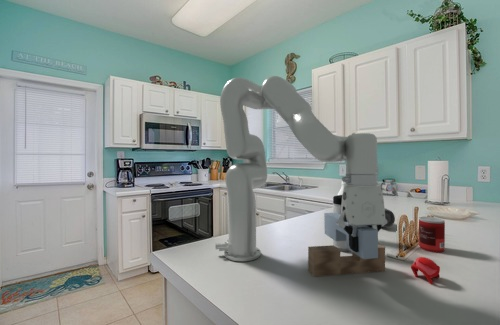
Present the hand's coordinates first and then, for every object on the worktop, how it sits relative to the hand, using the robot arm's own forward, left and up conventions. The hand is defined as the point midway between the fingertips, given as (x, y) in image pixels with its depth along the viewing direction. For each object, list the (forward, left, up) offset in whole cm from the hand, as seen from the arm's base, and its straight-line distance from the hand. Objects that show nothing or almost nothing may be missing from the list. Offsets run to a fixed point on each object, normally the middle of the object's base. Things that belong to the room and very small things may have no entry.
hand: (362, 249), depth 66 cm
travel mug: (+8, +25, -9) cm, 27 cm away
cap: (+19, 0, -9) cm, 21 cm away
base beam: (0, +8, -9) cm, 12 cm away
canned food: (+40, +20, -9) cm, 45 cm away
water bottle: (+16, +37, -9) cm, 41 cm away
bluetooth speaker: (+41, +56, -9) cm, 70 cm away
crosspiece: (0, +7, -1) cm, 7 cm away
